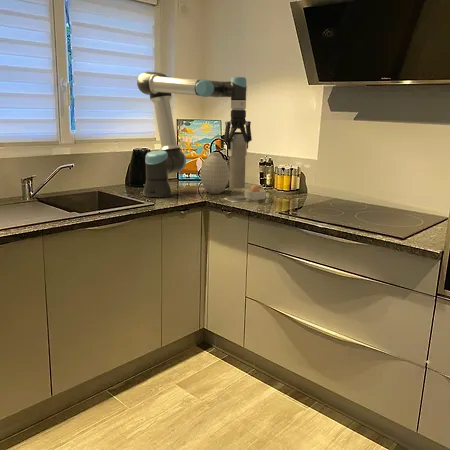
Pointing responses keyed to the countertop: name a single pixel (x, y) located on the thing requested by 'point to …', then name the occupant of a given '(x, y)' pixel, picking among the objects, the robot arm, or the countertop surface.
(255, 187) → the brown egg
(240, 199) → the beige square plate
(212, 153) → the vase
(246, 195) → the housing
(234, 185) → the thermos bottle
